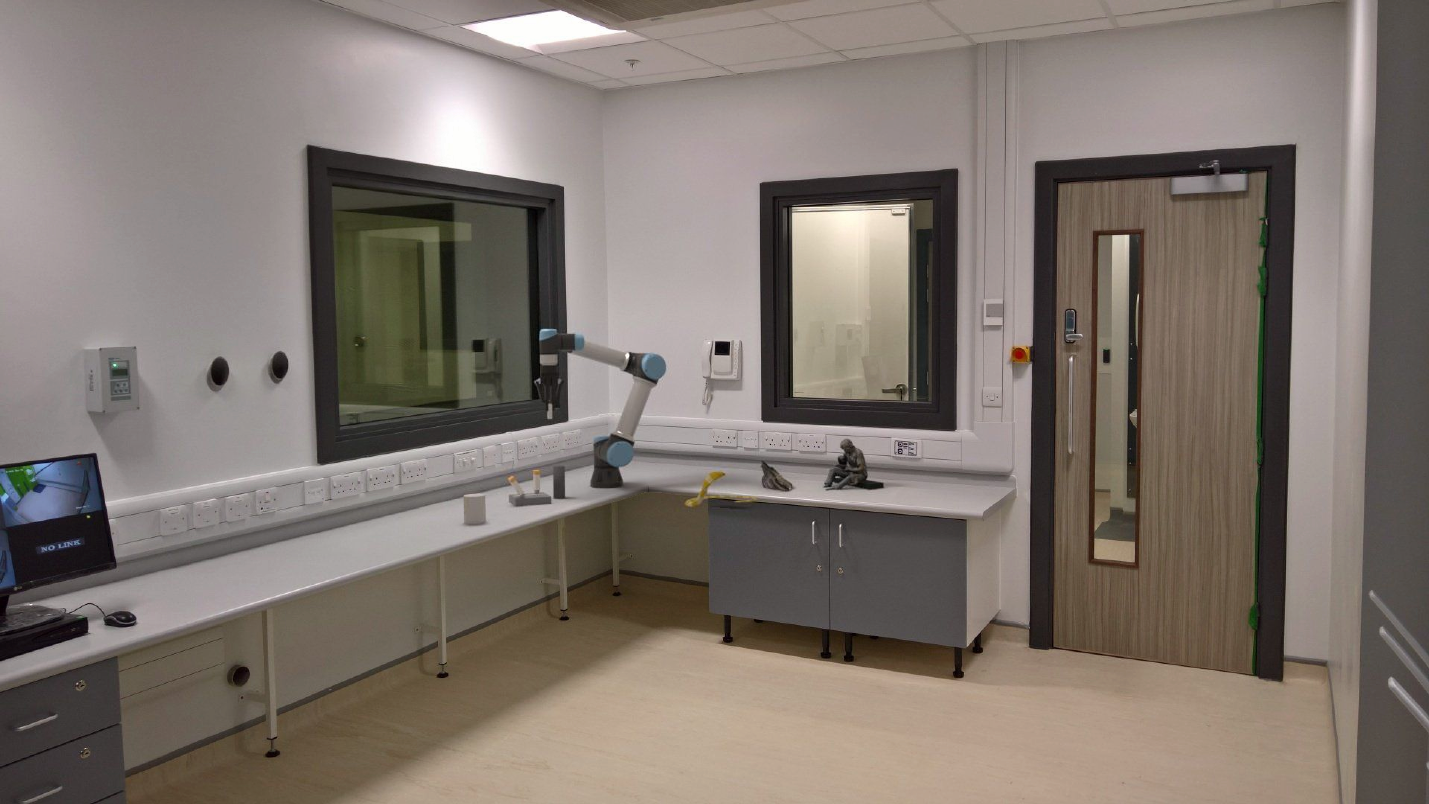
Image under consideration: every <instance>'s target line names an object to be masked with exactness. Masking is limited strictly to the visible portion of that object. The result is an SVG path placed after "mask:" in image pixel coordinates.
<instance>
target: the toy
mask: <svg viewBox="0 0 1429 804" xmlns="http://www.w3.org/2000/svg"><path fill="white" fill-rule="evenodd" d="M725 476H726V473H725V472H723V471H711V472H709V473H708V474H707V475H706V476H705V478H704V479H703V482H702V485H701V489H700V491H699V494H698V496H697V497H694V498H693V497H692V498H690V499H688V500H686V501H685V502H684V505H685V506H687V507H690V508H694V507H698V506H700V504H702V502H703V501H704V500H706V499H715V498H716V499H717V498H743V499H745V500H736V501H734V503H751V502H756V501H758V498H757V497H754V496H747V495H746V496H745V495H724V494H721V495H719V494H718V495H707V493H708V489H709V487H710V486H711V485H712V484H714V482H715V481H717V480H718V479H721V478H723V477H725ZM706 495H707V496H706ZM747 499H748V500H747Z"/></svg>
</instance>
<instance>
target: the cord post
mask: <svg viewBox="0 0 1429 804" xmlns="http://www.w3.org/2000/svg"><path fill="white" fill-rule="evenodd" d="M552 470H553V471H552V473H553V474H552V483H553V484H552V486H553V489H552V490H553V491H552V492H553V494H552V495H553V500H564V499H566V473H565V472H566V471H565V470H566V466H565V465H554V466H553V465H552ZM563 498H564V499H563Z"/></svg>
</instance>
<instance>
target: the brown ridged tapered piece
mask: <svg viewBox="0 0 1429 804" xmlns="http://www.w3.org/2000/svg"><path fill="white" fill-rule="evenodd" d="M760 468H761V469H762V473H763V476H762V477H761V486H762V487H763V488H765V489H773V490H782V491H784V492H785V491H791V490H792V488H793V483H791V482H790V481H788V480H787V479H785V478H784V477H783V475H782V474H780V472H778V471H777V470H776V469H775V468H774V467H773V466H770V465H768V463H766V461H764V460H761V464H760Z"/></svg>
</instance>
